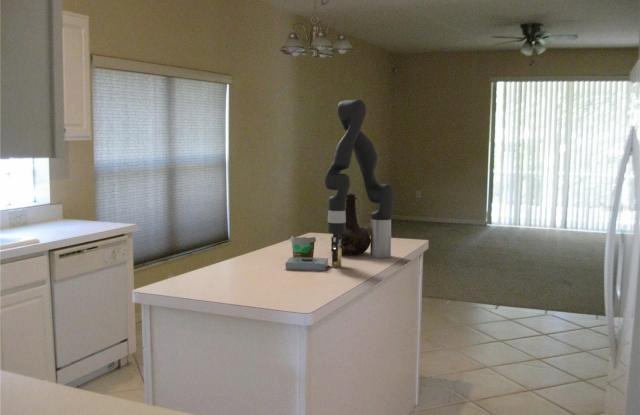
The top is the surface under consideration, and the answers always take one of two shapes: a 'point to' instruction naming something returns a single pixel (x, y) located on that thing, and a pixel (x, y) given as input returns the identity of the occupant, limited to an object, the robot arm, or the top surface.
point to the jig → (307, 264)
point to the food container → (303, 246)
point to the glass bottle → (353, 231)
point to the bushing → (338, 263)
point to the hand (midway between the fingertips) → (336, 259)
